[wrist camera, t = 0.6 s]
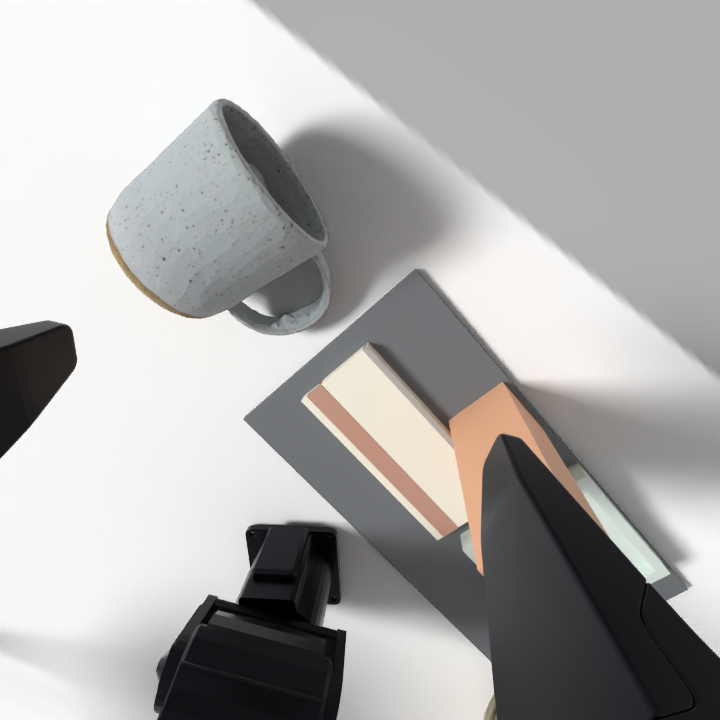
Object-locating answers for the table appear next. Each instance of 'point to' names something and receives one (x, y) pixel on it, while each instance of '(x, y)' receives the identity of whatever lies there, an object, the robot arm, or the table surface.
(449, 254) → the table surface
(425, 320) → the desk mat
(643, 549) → the tray
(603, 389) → the table surface
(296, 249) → the ceramic mug
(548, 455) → the stub
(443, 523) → the strip
